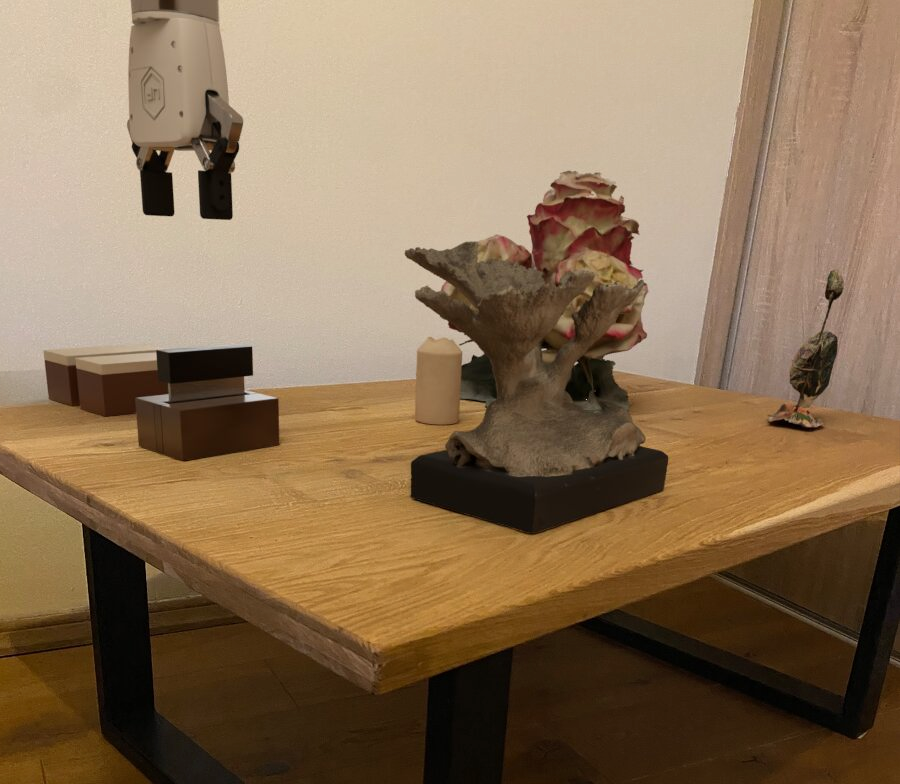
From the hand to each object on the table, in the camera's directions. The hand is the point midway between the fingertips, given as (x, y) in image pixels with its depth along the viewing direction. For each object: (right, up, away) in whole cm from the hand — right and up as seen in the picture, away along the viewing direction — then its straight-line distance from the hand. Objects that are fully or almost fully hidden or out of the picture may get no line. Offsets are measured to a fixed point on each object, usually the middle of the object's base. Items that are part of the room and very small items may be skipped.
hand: (186, 217), depth 88 cm
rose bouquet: (+39, -9, +43) cm, 59 cm away
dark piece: (0, -20, +9) cm, 22 cm away
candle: (+23, -14, +27) cm, 39 cm away
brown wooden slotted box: (0, -20, +9) cm, 22 cm away
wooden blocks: (-16, -11, +29) cm, 35 cm away
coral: (+30, -26, -2) cm, 40 cm away
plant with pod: (+72, -13, +38) cm, 83 cm away
